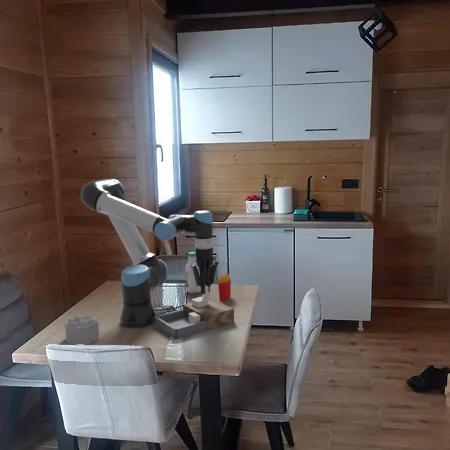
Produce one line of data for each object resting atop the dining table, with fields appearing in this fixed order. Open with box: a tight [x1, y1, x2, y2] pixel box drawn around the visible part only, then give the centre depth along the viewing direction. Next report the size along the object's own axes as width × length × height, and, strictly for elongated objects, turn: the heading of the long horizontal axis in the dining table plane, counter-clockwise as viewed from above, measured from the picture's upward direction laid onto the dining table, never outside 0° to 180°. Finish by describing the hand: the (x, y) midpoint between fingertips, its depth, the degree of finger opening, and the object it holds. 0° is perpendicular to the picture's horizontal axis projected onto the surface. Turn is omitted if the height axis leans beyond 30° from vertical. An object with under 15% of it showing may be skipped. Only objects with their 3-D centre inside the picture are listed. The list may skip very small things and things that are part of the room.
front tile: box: [189, 312, 200, 325], centre depth 201 cm, size 5×5×2 cm
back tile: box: [191, 296, 208, 308], centre depth 212 cm, size 5×5×2 cm
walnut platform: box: [182, 297, 235, 331], centre depth 210 cm, size 14×18×6 cm
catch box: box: [153, 308, 207, 340], centre depth 202 cm, size 14×18×4 cm
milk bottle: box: [185, 251, 201, 294], centre depth 249 cm, size 8×8×20 cm
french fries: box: [217, 273, 232, 302], centre depth 236 cm, size 8×4×12 cm, turn 148°
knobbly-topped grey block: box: [64, 314, 100, 346], centre depth 194 cm, size 10×13×9 cm
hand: (205, 300), depth 214 cm, fingers closed
